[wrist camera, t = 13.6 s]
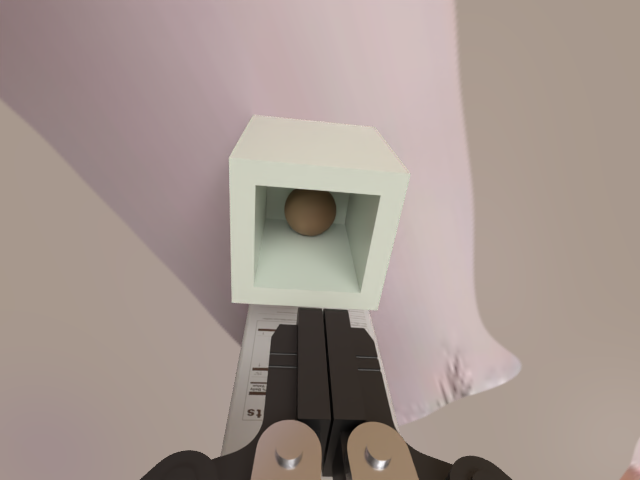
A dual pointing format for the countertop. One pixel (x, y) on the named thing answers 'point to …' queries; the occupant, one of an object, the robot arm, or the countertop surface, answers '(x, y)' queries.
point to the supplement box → (254, 370)
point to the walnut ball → (310, 211)
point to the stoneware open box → (332, 245)
